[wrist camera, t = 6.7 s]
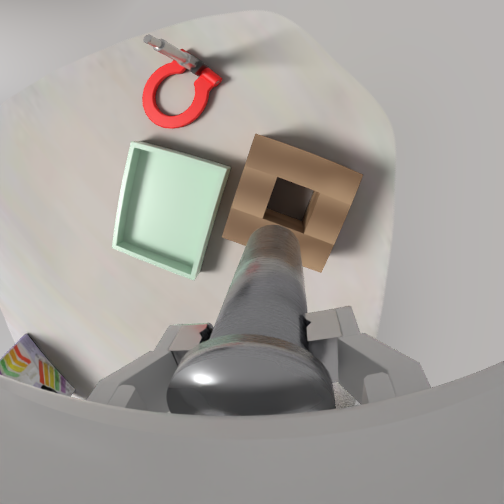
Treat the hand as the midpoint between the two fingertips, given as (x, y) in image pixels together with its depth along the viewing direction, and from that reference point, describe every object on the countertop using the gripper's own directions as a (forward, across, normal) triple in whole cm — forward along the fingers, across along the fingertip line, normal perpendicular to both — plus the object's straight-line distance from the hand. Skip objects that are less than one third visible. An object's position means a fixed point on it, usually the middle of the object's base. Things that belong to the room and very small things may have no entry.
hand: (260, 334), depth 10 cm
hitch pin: (+8, 0, 0) cm, 8 cm away
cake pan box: (+26, +58, +27) cm, 69 cm away
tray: (+25, +13, -2) cm, 28 cm away
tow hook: (+25, +9, -15) cm, 31 cm away
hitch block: (+25, -1, 0) cm, 25 cm away
